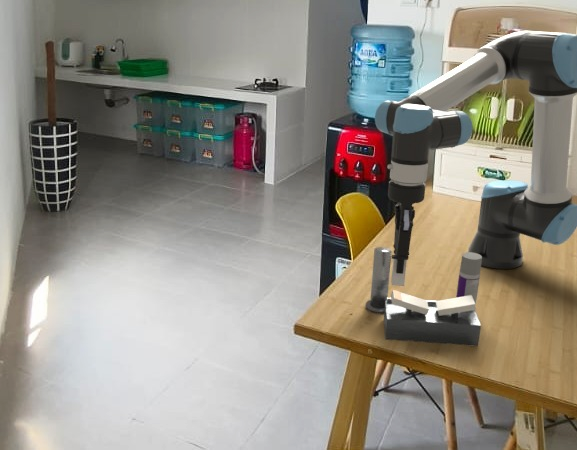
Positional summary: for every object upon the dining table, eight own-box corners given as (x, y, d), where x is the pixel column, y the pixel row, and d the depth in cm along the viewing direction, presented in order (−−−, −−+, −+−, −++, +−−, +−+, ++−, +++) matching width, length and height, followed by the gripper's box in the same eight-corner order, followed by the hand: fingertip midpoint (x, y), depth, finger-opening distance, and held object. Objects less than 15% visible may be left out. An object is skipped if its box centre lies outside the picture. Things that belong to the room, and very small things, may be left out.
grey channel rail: (470, 325, 147) (474, 301, 145) (478, 345, 139) (481, 320, 136) (383, 319, 149) (385, 295, 146) (385, 339, 140) (387, 314, 138)
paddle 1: (424, 305, 144) (426, 300, 143) (426, 314, 140) (429, 309, 139) (390, 295, 144) (393, 289, 143) (392, 304, 140) (394, 298, 139)
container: (451, 309, 155) (458, 252, 150) (470, 308, 155) (478, 251, 150) (457, 318, 150) (465, 259, 145) (477, 318, 151) (485, 259, 146)
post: (389, 303, 157) (395, 246, 152) (391, 314, 151) (396, 256, 146) (365, 301, 157) (369, 244, 152) (365, 312, 152) (370, 254, 147)
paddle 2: (472, 300, 142) (471, 295, 142) (476, 309, 138) (475, 304, 138) (436, 306, 144) (435, 301, 143) (438, 315, 140) (437, 310, 139)
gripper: (387, 171, 139) (379, 271, 147) (391, 189, 126) (381, 296, 135) (422, 173, 138) (412, 273, 146) (429, 191, 126) (417, 298, 134)
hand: (397, 284), depth 140 cm, fingers closed
